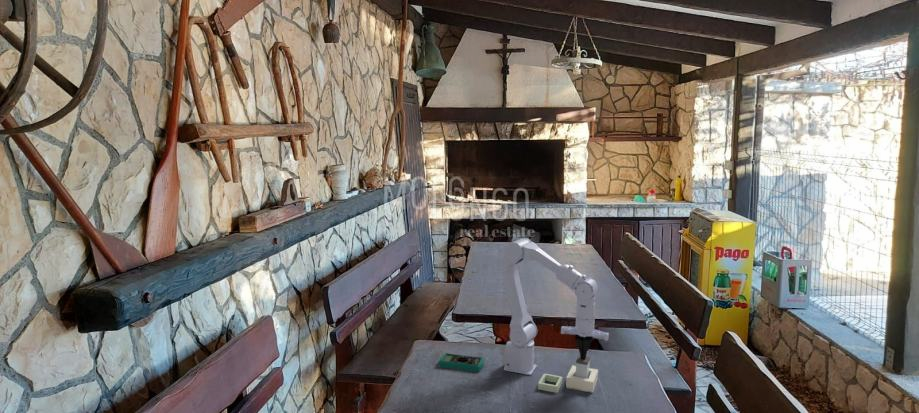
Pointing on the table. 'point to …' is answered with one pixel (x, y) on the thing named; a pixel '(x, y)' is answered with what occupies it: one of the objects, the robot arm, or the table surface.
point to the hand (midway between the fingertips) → (583, 358)
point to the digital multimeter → (461, 362)
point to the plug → (582, 367)
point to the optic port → (582, 380)
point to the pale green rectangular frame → (549, 387)
